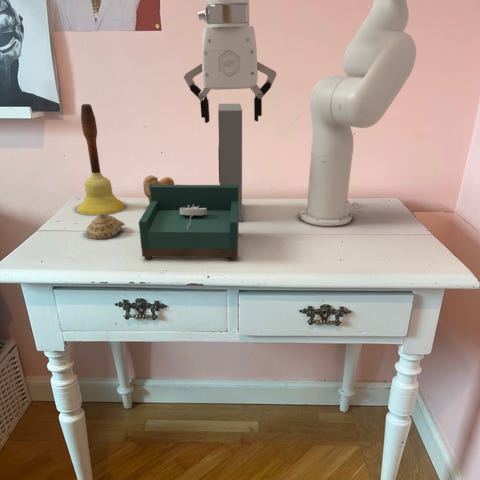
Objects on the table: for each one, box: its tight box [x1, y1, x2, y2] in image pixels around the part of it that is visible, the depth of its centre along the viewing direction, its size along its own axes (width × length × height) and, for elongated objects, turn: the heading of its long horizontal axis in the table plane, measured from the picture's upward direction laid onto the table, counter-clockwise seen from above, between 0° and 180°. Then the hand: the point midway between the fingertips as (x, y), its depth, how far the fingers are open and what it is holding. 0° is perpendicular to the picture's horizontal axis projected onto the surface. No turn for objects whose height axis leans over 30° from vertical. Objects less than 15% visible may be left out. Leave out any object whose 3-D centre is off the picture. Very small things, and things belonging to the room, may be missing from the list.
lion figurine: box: [142, 175, 175, 204], centre depth 126 cm, size 15×5×9 cm, turn 162°
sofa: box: [138, 184, 240, 261], centre depth 100 cm, size 19×16×11 cm
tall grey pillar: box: [217, 103, 243, 222], centre depth 116 cm, size 14×6×25 cm, turn 2°
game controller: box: [180, 204, 207, 231], centre depth 98 cm, size 6×12×3 cm, turn 15°
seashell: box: [85, 214, 126, 240], centre depth 109 cm, size 8×6×8 cm
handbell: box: [76, 103, 126, 216], centre depth 120 cm, size 12×12×25 cm
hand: (231, 121), depth 94 cm, fingers open, 9 cm apart
